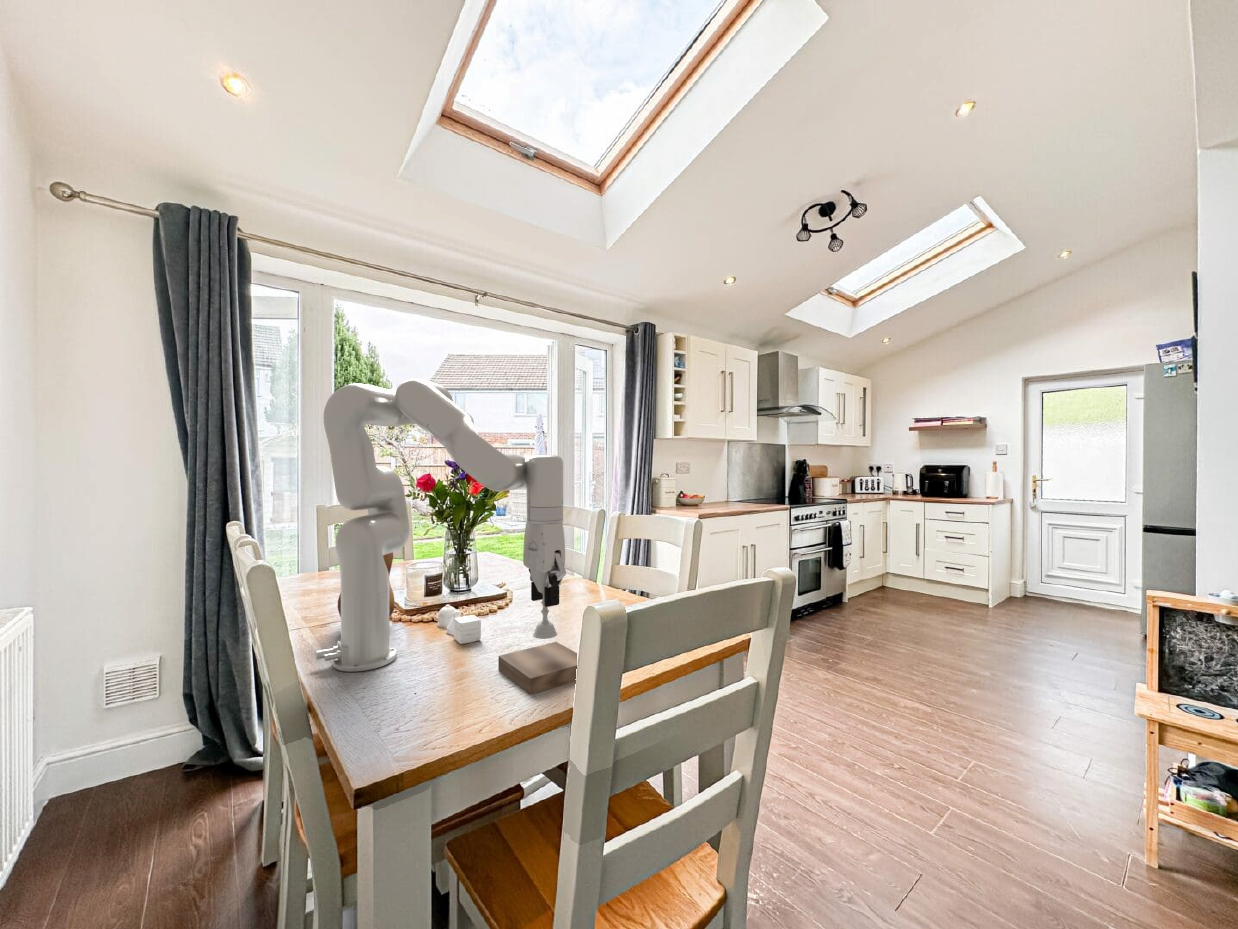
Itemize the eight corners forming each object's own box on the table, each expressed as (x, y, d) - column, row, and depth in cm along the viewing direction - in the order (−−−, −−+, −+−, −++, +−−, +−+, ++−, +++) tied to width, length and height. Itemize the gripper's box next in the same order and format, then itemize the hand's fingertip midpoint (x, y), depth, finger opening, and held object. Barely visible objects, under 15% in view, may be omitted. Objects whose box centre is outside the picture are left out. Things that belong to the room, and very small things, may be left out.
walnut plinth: (530, 694, 98) (530, 678, 98) (498, 670, 109) (498, 655, 109) (591, 675, 107) (591, 661, 107) (556, 654, 118) (556, 641, 118)
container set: (481, 641, 127) (481, 619, 127) (460, 646, 124) (460, 623, 124) (454, 620, 143) (454, 600, 143) (434, 624, 140) (434, 603, 140)
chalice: (546, 643, 103) (546, 552, 103) (520, 636, 107) (520, 549, 106) (568, 632, 109) (568, 546, 109) (544, 627, 113) (543, 544, 112)
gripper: (509, 512, 112) (510, 597, 112) (550, 520, 99) (550, 616, 99) (540, 510, 117) (540, 591, 117) (583, 517, 103) (583, 609, 103)
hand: (545, 601), depth 108 cm, fingers closed on chalice, 4 cm apart
